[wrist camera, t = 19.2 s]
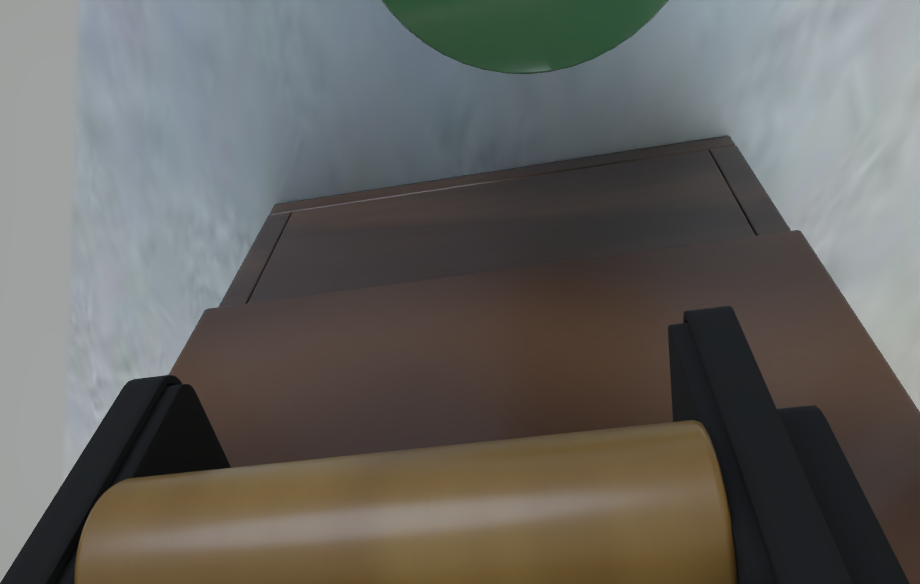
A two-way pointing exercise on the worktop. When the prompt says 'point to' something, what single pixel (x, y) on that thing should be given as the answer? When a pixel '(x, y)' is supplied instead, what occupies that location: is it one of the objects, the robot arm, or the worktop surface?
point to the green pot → (523, 30)
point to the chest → (507, 221)
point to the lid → (499, 428)
